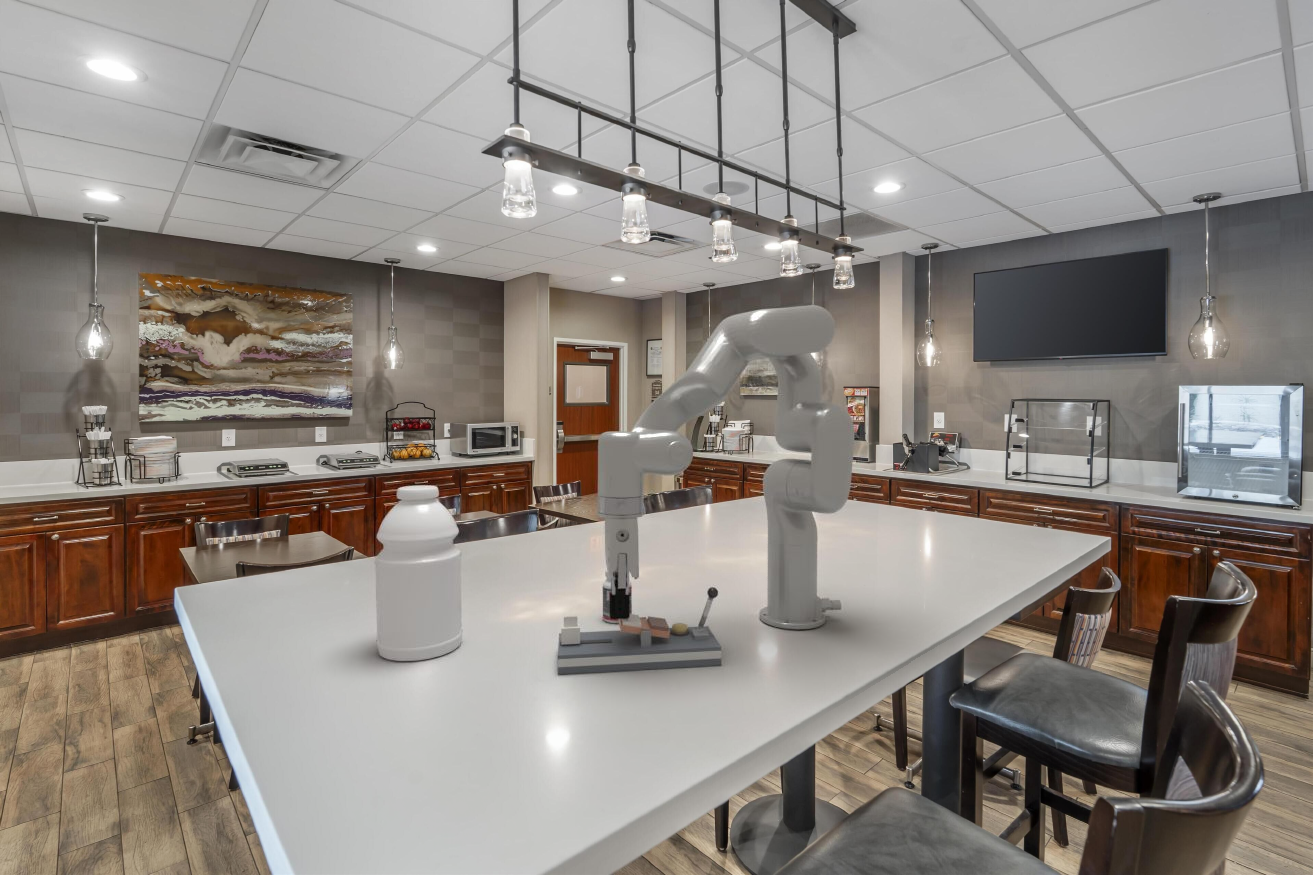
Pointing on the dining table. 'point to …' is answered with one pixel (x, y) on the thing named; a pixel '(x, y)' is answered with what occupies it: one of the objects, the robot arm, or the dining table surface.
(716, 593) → the lever
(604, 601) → the pill bottle
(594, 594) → the dining table surface
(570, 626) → the slider
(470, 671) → the dining table surface
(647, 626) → the rocker
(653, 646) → the console
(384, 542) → the bottle
